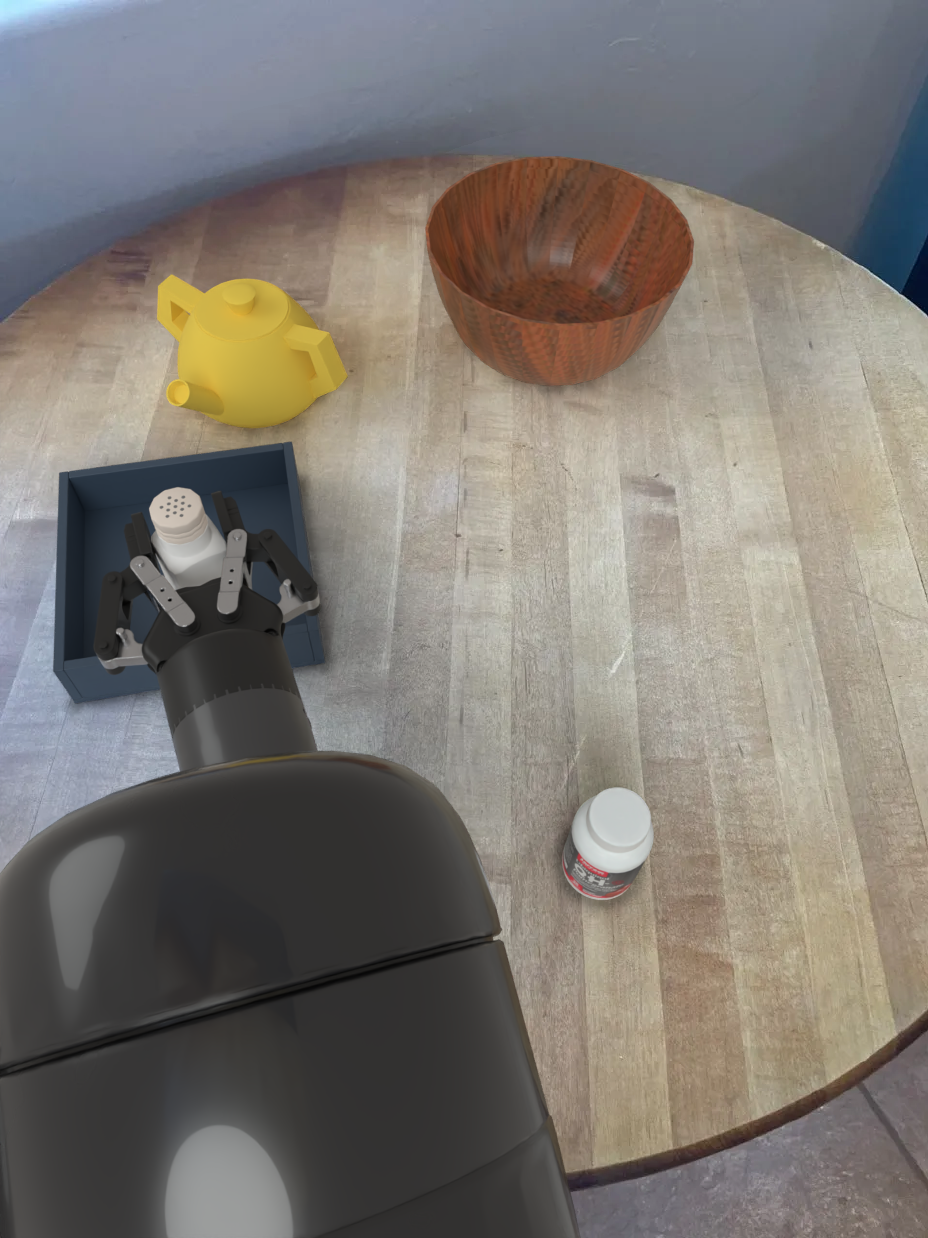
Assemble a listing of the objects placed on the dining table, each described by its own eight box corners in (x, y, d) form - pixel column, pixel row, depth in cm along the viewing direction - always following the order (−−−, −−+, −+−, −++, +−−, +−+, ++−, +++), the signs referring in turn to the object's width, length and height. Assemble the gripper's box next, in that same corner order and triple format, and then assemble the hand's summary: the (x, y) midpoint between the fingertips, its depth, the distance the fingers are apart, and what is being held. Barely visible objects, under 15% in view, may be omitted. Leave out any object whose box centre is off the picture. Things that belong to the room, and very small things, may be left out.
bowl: (376, 323, 99) (369, 225, 89) (547, 224, 108) (558, 126, 99) (547, 461, 89) (560, 368, 80) (719, 340, 99) (750, 243, 89)
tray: (74, 703, 75) (52, 671, 71) (77, 510, 85) (58, 471, 81) (325, 663, 77) (318, 629, 73) (299, 479, 88) (291, 441, 83)
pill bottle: (561, 900, 68) (578, 854, 59) (560, 827, 70) (576, 773, 62) (638, 904, 68) (666, 858, 59) (634, 830, 70) (659, 777, 62)
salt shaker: (168, 587, 67) (131, 499, 59) (220, 562, 68) (190, 472, 60) (193, 628, 65) (159, 542, 57) (246, 600, 67) (220, 513, 59)
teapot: (104, 426, 91) (65, 334, 81) (212, 309, 100) (189, 214, 90) (287, 499, 86) (269, 411, 77) (383, 370, 95) (377, 278, 86)
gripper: (357, 658, 53) (276, 442, 61) (93, 741, 50) (47, 502, 58) (366, 720, 59) (292, 517, 68) (132, 797, 56) (86, 574, 65)
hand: (179, 511), depth 63 cm, fingers closed on salt shaker, 4 cm apart
